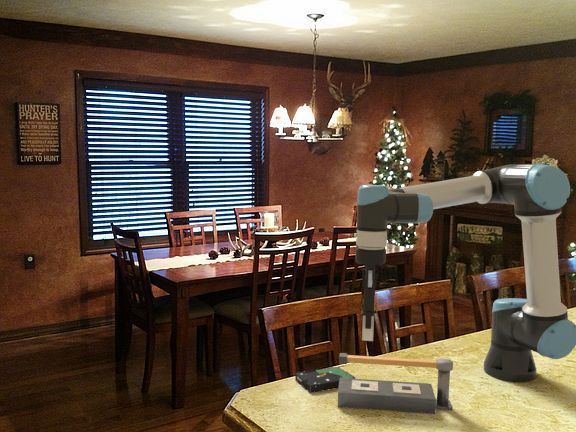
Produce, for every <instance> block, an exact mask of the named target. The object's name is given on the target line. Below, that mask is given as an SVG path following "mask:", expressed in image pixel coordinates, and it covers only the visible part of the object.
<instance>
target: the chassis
mask: <svg viewBox="0 0 576 432" xmlns="http://www.w3.org/2000/svg"><path fill="white" fill-rule="evenodd" d="M436 400H437V397H436V395H435V392H434V388H433V386H432V383H426V382H425V383H424V382H412V381H411V382H410V381H408V382H407V381H398V380H397V381H394V380H382V379H381V380H380V379H367V378H365V379H364V378H355V379H353V378H340V380H339V388H337V407H338V408H345V409H347V408H348V409H361V410H373V411H374V410H375V411H386V412H387V411H389V412H400V413H403V412H404V413H414V414H415V413H416V414H428V415H429V414H430V415H435V414H436V409H435V407H436Z"/></svg>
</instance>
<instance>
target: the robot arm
mask: <svg viewBox="0 0 576 432" xmlns="http://www.w3.org/2000/svg"><path fill="white" fill-rule="evenodd" d="M357 191H358V192H357V200H356V232H355V233H353V237H354V238H356V239H355V244H356V246H357V247H356V248H355V257H354V258H355V263H356V264H360V265H365V269H364V268H361V269H362V270H361V278H362V288H363V290H364V291H363V292H364V293H363V309H362V311H360V316H362V331H361V333H362V335H361V337H362V338H361V341H367V342H374V326H375V325H374V324H375V322H374V321H375V314H377V310H375V298H376V297H375V296H376V295H375V293H376V289H377V287H378V286H377V285H378V279H379V269H376V265H378V266H381V265H384V264H386V261H387V249H386V247H387V244H388V224H416V225H417V224H420V223H421V224H423V223H424V224H425V223H427V222H428V221H430V220H431V218H432V216H433V214H434V210H437V209H443V208H449V207H452V206H455V207H456V206H458V205H459V206H461V205H464V204H465V205H466V204H471V203H475V202H476V203H478V204H480V205H484V204H490V203H491V204H493V203H494V204H495V203H496V204H505V205H512V206H514V208H513V209H514V216H515V217H516V218H518V219H519V220H520V222H521V232H522V247H523V248H522V249H523V250H522V251H523V258H524V259H523V260H524V261H523V263H524V274H525V275H524V277H525V287H526V288H525V289H526V290H525V291H526V298H520V297H519V298H516V297H513V298H511V297H509V298H508V297H507V298H505V297H504V298H498V299H496V300H494V302H493V304H492V311H491V329H490V346H489V349H488V351H487V354H486V356H485V359H484V360H483V371H484V372H485V374H488V375H489V376H491V377H493V378H496V379H499V380H503V381H509V382H518V383H519V382H520V383H521V382H530V381H533V380H535V379H536V378H537V367H536V362H535V360H534V356H533V353H532V351H533V352H535V353H536V354H539V355H540V356H542V357H546V358H549V359H551V360H561V359H563V358H565V357H567V356H568V355H570V354H571V353H572V351H573V350H574V349H575V348H576V324H575V322H574V321H572V320H570V319H569V315H568V314H569V313H568V307H567V306H566V305H564V304H563V303H562V301H561V285H560V284H561V283H560V269H559V255H558V253H559V252H558V251H559V249H558V238H557V221H556V220H557V218H558V217H559V216H560V214H562V207H564V205H566V203H567V201H568V200H567V199H569V197H570V193H571V185H570V180H569V178H568V176H567V175H566V173H565V172H564V171H563V170H561V169H560V168H559V166H558V167H557V166H555V165H550V164H544V163H527V164H526V163H524V164H523V163H521V164H520V163H513V164H506V165H500V166H497V167H493V168H489V169H484V170H479V171H476V172H474V173H473V174H472V175H469V176H464V177H458V178H457V177H456V178H451V179H446V180H445V179H444V180H441V181H434V182H428V183H421V184H417V185H410V186H405V187H404V186H403V187H399V188H392V189H389V186H387V185H382V184H379V185H377V184H362V185H360V186H359V188H358V190H357Z"/></svg>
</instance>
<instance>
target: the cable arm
mask: <svg viewBox="0 0 576 432" xmlns="http://www.w3.org/2000/svg"><path fill="white" fill-rule="evenodd" d="M338 359H339V360H338V364H339V365H347V363H349V364H350V363H351V364H366V365H381V366H383V365H384V366H399V367H412V368H413V367H415V368H432V369H436V370H437V371H438V370H441V371H450V372H451V371H453V370H454V361H453V360H451V359H450V358H449V359H448V358H442V357H441V358H436V359H421V358H419V359H417V358H416V359H415V358H401V357H387V356H385V357H383V356H369V355H368V356H367V355H352V354H348V353H346V352H340V353H339V355H338Z"/></svg>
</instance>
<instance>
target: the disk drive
mask: <svg viewBox="0 0 576 432" xmlns="http://www.w3.org/2000/svg"><path fill="white" fill-rule="evenodd" d="M294 375H295V376H294V377H295V379H294V380H295V381H296V382H297V383H298V384H299V385H300V386H302V387H303V388H304V390H306V391H307V390H308V392H309V393H310V394H312V393H319V392H323V391H322V390H324V391H328V389H330V390H334V389H333V388H335V389H338V388H339V380H340V378H353V379H356V377H355V376H354V375H352V374H351V373H349V371H346V370H344V369H343V368H341V366H330V367H325V368H324V367H323V368H318V369H313V370H305V371H300V372H296V373H294Z"/></svg>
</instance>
